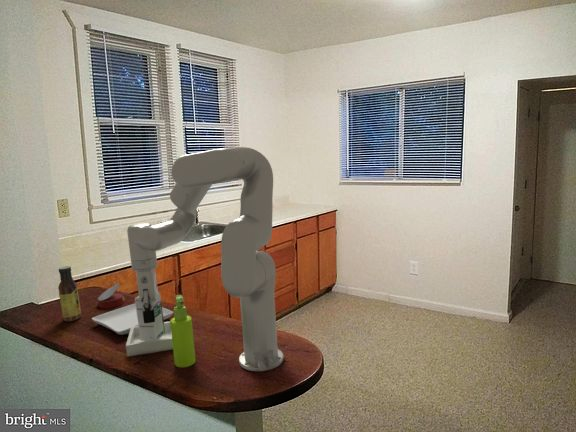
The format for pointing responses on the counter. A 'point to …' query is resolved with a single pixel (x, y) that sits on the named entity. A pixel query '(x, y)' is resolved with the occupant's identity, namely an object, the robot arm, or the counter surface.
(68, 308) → the sauce bottle
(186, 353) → the soap dispenser
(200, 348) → the counter surface
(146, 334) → the syrup box
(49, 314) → the counter surface
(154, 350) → the tray
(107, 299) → the canned food
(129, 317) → the salad plate
